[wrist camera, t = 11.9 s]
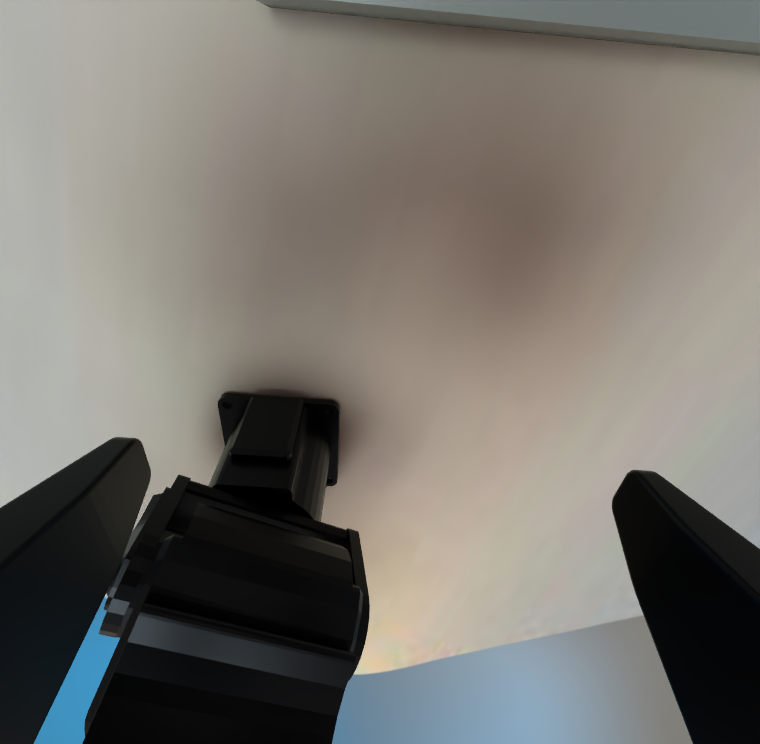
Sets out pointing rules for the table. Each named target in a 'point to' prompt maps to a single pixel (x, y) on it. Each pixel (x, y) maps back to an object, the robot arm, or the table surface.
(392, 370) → the table surface
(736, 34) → the caddy
